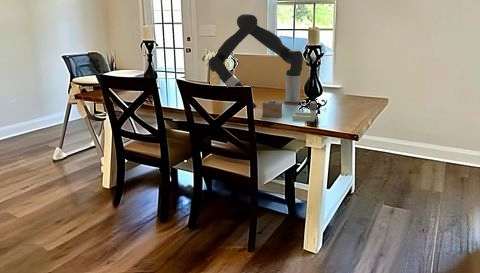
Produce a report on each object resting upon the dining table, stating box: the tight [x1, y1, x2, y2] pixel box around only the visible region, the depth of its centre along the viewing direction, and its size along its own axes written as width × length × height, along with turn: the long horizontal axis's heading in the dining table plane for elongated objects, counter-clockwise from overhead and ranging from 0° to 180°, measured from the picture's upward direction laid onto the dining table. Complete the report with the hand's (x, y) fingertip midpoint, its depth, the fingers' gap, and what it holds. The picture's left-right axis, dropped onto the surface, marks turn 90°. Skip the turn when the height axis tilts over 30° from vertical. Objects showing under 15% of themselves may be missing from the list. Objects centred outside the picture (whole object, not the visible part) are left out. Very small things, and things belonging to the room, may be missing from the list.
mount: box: [292, 109, 317, 122], centre depth 229 cm, size 9×12×6 cm
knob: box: [309, 101, 318, 111], centre depth 224 cm, size 4×4×4 cm
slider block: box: [262, 99, 283, 119], centre depth 233 cm, size 5×10×9 cm, turn 73°
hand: (255, 107), depth 236 cm, fingers closed
